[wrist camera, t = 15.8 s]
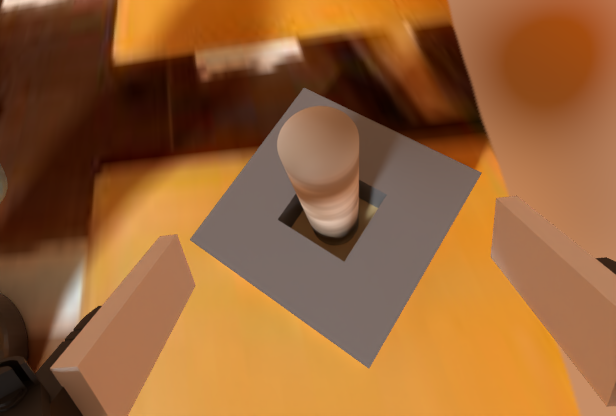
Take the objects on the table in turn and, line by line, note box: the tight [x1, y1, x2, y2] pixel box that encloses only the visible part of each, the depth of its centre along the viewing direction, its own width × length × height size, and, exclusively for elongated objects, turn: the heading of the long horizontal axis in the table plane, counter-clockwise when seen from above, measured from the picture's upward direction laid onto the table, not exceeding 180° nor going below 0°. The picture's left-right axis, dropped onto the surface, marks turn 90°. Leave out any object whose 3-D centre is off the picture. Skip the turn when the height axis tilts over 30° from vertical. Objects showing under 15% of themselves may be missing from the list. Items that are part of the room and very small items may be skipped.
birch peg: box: [277, 106, 359, 245], centre depth 23 cm, size 4×4×14 cm
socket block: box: [190, 88, 481, 368], centre depth 28 cm, size 16×16×5 cm
